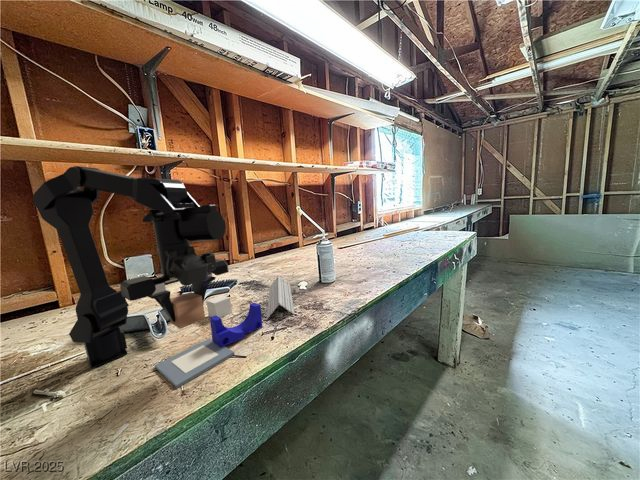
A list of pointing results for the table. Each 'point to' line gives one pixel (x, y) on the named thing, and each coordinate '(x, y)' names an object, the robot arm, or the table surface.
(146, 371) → the table surface
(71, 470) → the table surface
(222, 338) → the blue cradle bracket
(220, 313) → the cream block
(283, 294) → the corner bead
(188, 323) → the terracotta block
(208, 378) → the table surface
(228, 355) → the grey base plate
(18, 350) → the table surface
